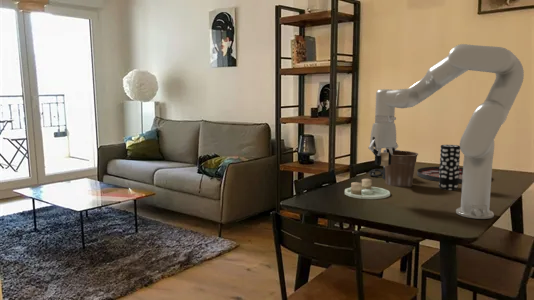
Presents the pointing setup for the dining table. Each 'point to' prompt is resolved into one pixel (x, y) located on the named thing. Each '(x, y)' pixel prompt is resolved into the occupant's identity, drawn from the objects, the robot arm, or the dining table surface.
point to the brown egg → (384, 158)
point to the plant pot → (401, 168)
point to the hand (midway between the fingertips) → (382, 164)
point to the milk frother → (379, 171)
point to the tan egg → (356, 188)
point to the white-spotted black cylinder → (449, 167)
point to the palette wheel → (435, 173)
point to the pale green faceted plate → (369, 193)
